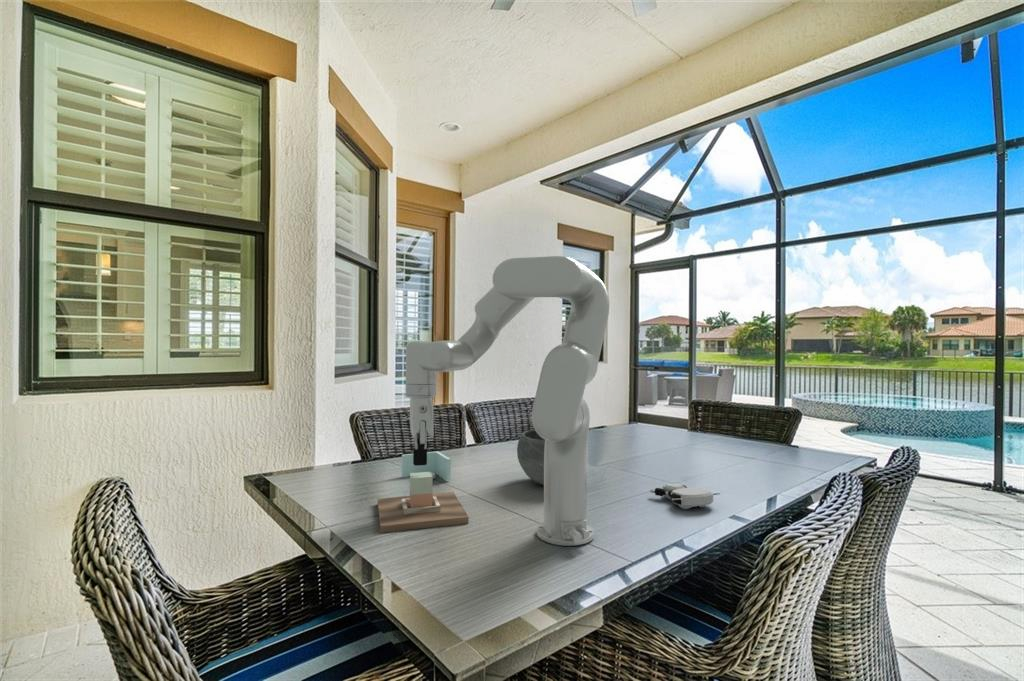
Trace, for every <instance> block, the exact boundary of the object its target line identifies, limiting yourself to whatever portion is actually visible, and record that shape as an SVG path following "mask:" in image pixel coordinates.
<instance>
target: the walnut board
mask: <svg viewBox="0 0 1024 681" xmlns="http://www.w3.org/2000/svg"><path fill="white" fill-rule="evenodd" d="M377 511H378V512H377V513H378V522H379V525H380V526H379V533H380V534H381V533H390V532H399V531H409V530H410V531H411V530H419V529H428V528H437V527H449V526H457V525H466V524H469V515H468V514H467V512H466V511H465V509H464V507H463V506H462V504H461V502H460V501H459V499H458V497H457V496H456V494H455V492H454V491H449V492H438V493H437V492H436V493H432V506H427V507H416V508H410V495H404V496H393V497H382V498H381V497H379V498H377Z"/></svg>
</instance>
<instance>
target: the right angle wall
mask: <svg viewBox="0 0 1024 681" xmlns="http://www.w3.org/2000/svg"><path fill="white" fill-rule="evenodd" d="M451 462H452V461H451V458H450V457H448V456H447V455H446V454H443V453H441V452H440V451H439V450H438V451H427V464H426V465H419V466H415V465H414V464H413V453H408V454H401V478H402V477H404V478H408V477H407V476H410V473H419V472H430V473H431V475H432V480H435V479H436V475H437V474H438V475H439V476H438V475H437V476H438V477H439V478H441V477H442V478H443V479H442V478H441V479H442V480H443V481H445V482H446V481H447V482H446V483H451V468H452V466H451V464H452V463H451ZM435 473H436V474H435Z"/></svg>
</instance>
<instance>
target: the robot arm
mask: <svg viewBox="0 0 1024 681" xmlns="http://www.w3.org/2000/svg"><path fill="white" fill-rule="evenodd" d="M493 271H494V272H493V274H492V285H493V286H492V288H490V290H488V292H487V293H485V295H483V296H482V297H481V298H480V299H479V300H478V301H477V302H476V303H475V305H474V312H475V319H474V321H473V323H472V325H471V326H470V328H469V329H468V330H467V331H466V332H464V334H462V336H461V337H459V339H458V340H437V341H428V340H427V341H426V340H424V341H423V340H421V341H420V340H419V341H417V340H412V341H409V342H407V344H406V346H405V395H404V396H405V398H408V399H409V424H410V426H409V427H410V428H409V429H410V433H411V435H412V438H413V448H412V451H413V453H412V454H413V464H414V465H415V466H419V465H426V464H427V452H428V446H427V443H428V442H427V441H428V437H429V438H430V439H432V438H433V437H435V436H434V435H435V434H434V433H435V430H434V426H435V425H434V423H435V422H434V402H433V400H434V399H433V398H436V397H437V372H439V373H448V372H455V371H464V370H466V369H468V368H470V367H471V366H472V365H473V364H475V363H476V362H477V361H478V360H479V359H480V358H481V357H482V356H483V355H485V353H487V351H488V350H490V349H491V347H492V346H493V344H494V343H495V341H496V339H498V336H499V334H500V333H501V331H502V329H503V328H505V327H506V325H508V323H510V322H511V321H512V320H513V319H514V318H515V317H516V316H517V315H518V314H519V313H520V312H521V311H522V310H524V308H526V306H527V305H528V304H530V303H532V301H533V300H534V299H535V298H559V299H562V300H566V301H568V302H569V303H570V305H571V308H570V309H571V310H570V313H569V315H568V317H567V321H566V325H565V330H564V335H563V338H562V341H561V344H558V345H556V346H555V347H553V348H552V349H551V350H549V352H548V353H547V355H546V356H545V359H544V361H543V364H542V366H541V370H540V373H539V380H538V382H537V383H538V384H537V388H536V392H535V395H534V399H533V405H532V408H531V409H532V411H531V422H532V426H533V430H535V431H536V432H537V434H538V435H539V436H540V437H541V438H543V439H545V447H544V485H543V522H541V523H540V524H538V526H537V527H536V536H538V538H539V540H542V541H544V542H546V543H547V544H551V545H557V546H564V547H570V546H571V547H572V546H573V547H574V546H575V547H576V546H581V545H584V544H588V543H589V542H591V541H593V539H594V538H595V530H594V528H593V527H592V526H591V525H589V524H588V448H589V446H588V444H589V432H590V431H589V430H590V419H591V416H590V409H589V405H588V403H587V401H586V400H585V398H584V394H585V390H586V385H588V384H589V383H591V382H592V381H593V380H594V378H595V376H596V374H597V371H598V367H599V366H598V365H599V362H600V361H599V360H600V356H601V352H602V346H603V343H604V338H605V334H606V328H607V324H608V318H609V313H610V296H609V293H608V288H607V287H606V285H605V284H604V282H603V280H601V278H600V277H599V276H598V275H597V274H596V273H595V272H593V271H592V270H591V269H589V268H588V267H587V266H586V265H584V264H582V263H581V262H579V261H578V260H576V259H574V258H573V257H569V256H562V255H550V256H549V255H548V256H534V257H532V256H530V257H513V258H508V259H505V260H503V261H502V262H500V263H499V264H498V265H497V266H496V267H495V269H494V270H493Z"/></svg>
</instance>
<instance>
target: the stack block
mask: <svg viewBox="0 0 1024 681" xmlns="http://www.w3.org/2000/svg"><path fill="white" fill-rule="evenodd" d="M432 494H433V479H432V475H431V473H430V472H419V473H410V477H409V496H410V508H416V507H427V506H432Z"/></svg>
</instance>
